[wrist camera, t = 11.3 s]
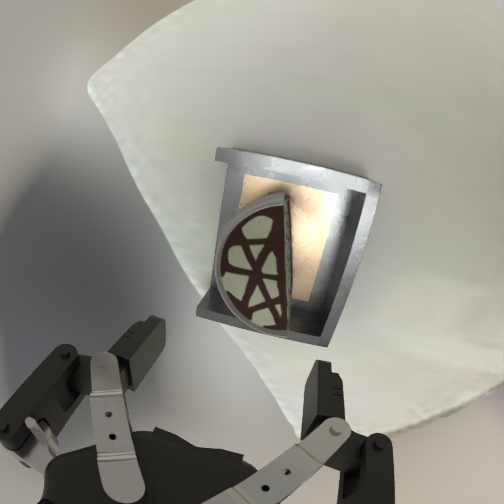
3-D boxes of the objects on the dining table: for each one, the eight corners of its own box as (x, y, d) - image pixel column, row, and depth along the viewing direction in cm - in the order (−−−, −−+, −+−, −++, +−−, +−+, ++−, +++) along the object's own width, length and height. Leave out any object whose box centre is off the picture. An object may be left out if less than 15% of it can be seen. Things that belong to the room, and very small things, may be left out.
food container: (232, 185, 29) (198, 200, 20) (289, 182, 28) (282, 196, 19) (242, 288, 33) (218, 339, 24) (293, 289, 32) (287, 342, 23)
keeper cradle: (367, 178, 27) (382, 184, 22) (325, 318, 34) (327, 347, 29) (233, 148, 29) (217, 147, 23) (211, 291, 36) (196, 315, 30)
